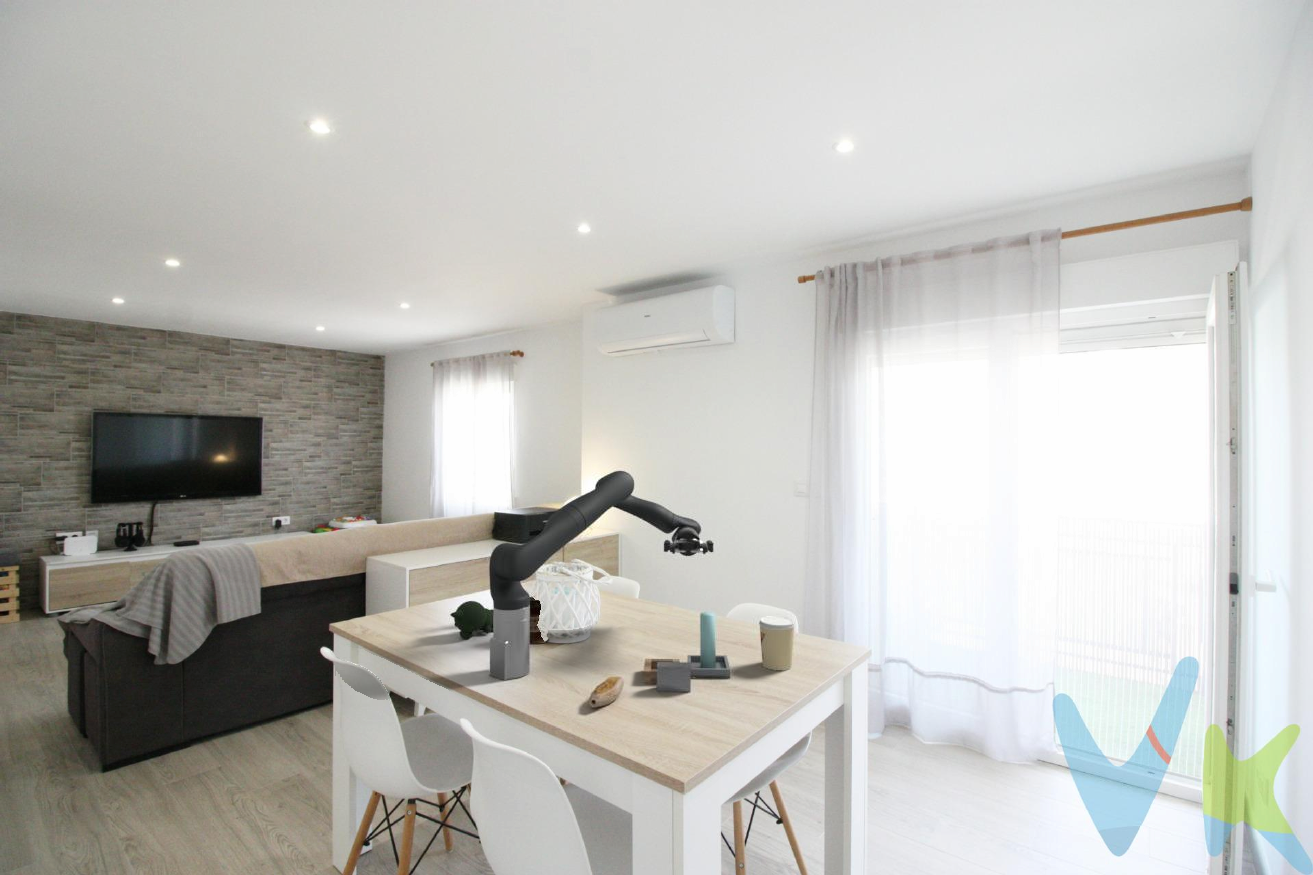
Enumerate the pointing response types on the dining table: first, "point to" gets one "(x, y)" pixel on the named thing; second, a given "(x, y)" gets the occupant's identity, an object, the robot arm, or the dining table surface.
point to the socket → (653, 669)
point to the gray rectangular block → (673, 677)
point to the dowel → (707, 640)
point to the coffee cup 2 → (777, 642)
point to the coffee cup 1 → (535, 621)
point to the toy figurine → (472, 619)
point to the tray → (718, 672)
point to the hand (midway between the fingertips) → (689, 550)
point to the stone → (606, 692)
